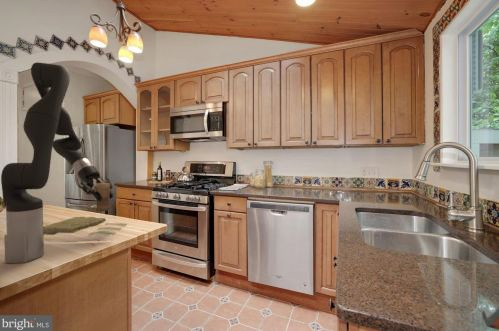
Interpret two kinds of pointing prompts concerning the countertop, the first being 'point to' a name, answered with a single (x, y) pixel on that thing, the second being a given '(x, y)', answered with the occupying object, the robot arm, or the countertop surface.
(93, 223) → the decorative tile
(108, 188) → the walnut roller
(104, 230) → the birch board
